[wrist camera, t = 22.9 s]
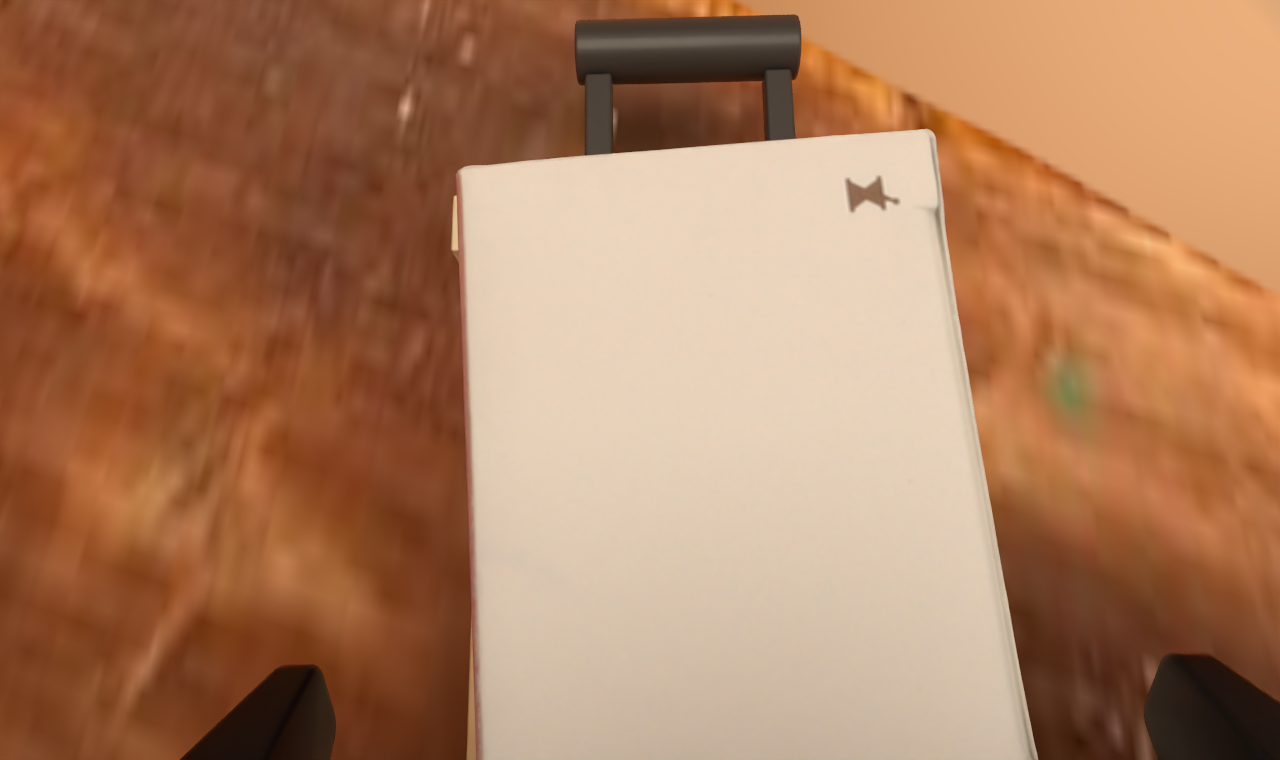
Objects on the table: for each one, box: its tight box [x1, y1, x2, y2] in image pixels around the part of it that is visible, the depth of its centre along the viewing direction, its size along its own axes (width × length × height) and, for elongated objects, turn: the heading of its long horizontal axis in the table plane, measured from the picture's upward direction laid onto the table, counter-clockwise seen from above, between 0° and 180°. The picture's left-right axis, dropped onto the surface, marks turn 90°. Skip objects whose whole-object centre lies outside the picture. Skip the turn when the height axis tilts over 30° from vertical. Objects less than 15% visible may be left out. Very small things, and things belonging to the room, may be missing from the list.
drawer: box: [451, 15, 801, 760], centre depth 19 cm, size 17×10×4 cm, turn 1°
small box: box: [455, 129, 1038, 760], centre depth 14 cm, size 8×6×10 cm
